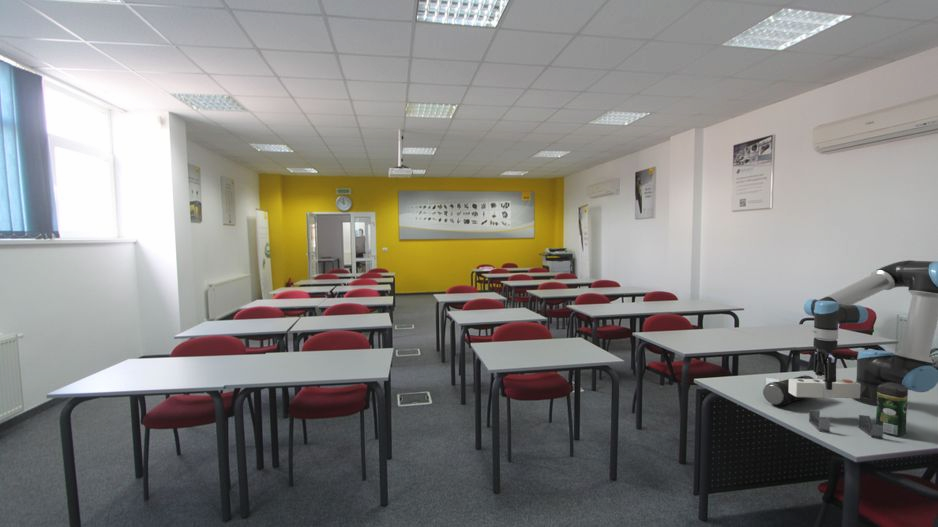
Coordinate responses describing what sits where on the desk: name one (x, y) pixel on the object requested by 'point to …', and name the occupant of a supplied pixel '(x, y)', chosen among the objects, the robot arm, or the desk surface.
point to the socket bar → (815, 388)
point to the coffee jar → (892, 408)
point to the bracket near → (874, 431)
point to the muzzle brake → (781, 392)
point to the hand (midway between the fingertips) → (823, 393)
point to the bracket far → (819, 421)
